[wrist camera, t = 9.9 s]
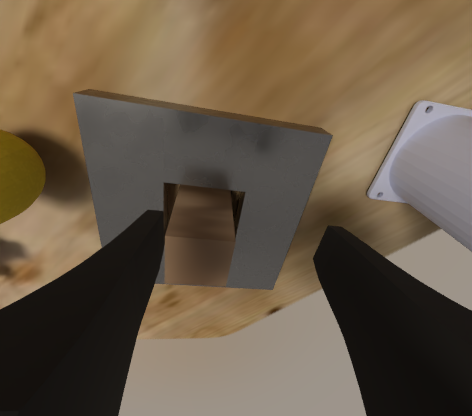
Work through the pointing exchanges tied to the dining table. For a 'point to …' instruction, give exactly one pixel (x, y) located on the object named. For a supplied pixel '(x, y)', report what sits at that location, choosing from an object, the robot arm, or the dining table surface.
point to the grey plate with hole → (200, 171)
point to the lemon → (18, 175)
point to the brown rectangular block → (200, 237)
